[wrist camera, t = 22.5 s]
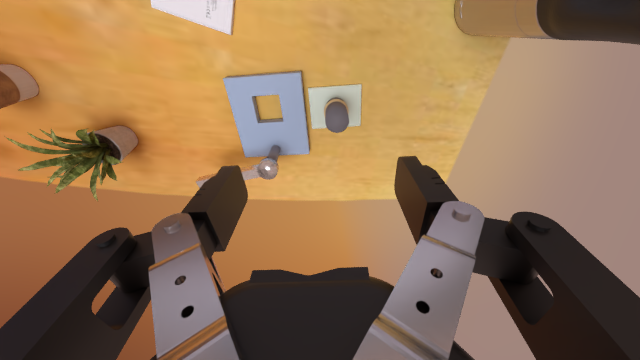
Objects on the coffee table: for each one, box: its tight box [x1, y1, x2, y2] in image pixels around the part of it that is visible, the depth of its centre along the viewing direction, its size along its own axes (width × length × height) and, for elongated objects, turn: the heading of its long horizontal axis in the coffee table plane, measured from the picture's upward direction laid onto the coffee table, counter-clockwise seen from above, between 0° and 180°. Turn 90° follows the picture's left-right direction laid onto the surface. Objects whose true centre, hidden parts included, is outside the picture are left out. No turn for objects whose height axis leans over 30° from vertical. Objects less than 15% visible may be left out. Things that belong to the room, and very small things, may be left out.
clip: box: [196, 158, 279, 188], centre depth 43 cm, size 4×16×2 cm, turn 104°
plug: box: [324, 97, 349, 133], centre depth 42 cm, size 5×5×8 cm
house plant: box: [4, 126, 138, 200], centre depth 42 cm, size 14×14×16 cm
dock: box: [223, 71, 310, 162], centre depth 43 cm, size 14×16×9 cm
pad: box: [308, 84, 362, 129], centre depth 45 cm, size 10×8×1 cm
